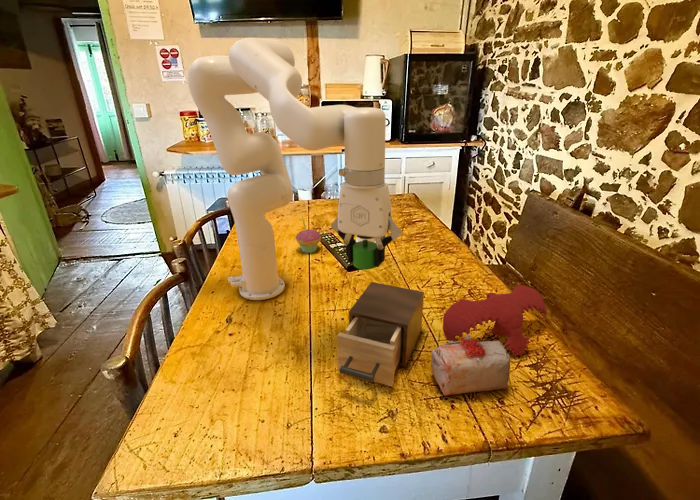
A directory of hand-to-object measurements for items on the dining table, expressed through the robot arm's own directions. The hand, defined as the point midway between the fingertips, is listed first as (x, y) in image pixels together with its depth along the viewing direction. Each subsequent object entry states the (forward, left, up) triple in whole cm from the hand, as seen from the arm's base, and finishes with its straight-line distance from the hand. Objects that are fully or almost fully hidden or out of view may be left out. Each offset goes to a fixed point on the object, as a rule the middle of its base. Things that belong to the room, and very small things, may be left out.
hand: (365, 261), depth 83 cm
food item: (+18, -17, -20) cm, 31 cm away
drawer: (0, -10, -19) cm, 21 cm away
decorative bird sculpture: (+30, -5, -20) cm, 37 cm away
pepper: (0, 0, -1) cm, 1 cm away
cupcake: (-11, +51, -20) cm, 56 cm away
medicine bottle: (+7, +40, -20) cm, 45 cm away
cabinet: (+5, -2, -20) cm, 20 cm away
